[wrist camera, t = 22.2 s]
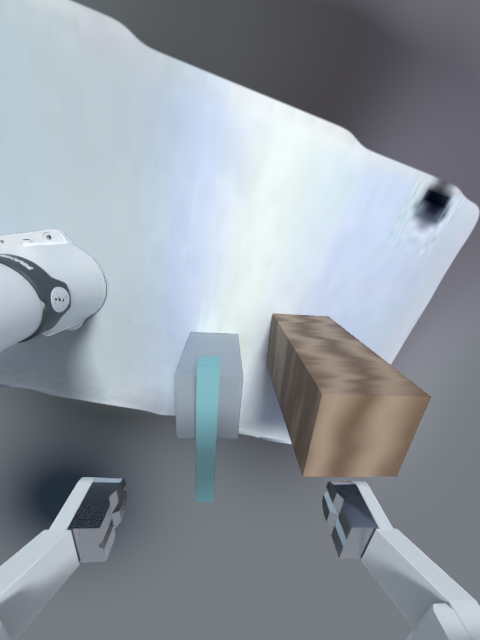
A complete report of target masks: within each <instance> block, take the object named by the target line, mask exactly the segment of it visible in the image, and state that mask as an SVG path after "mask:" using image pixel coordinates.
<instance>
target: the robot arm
mask: <svg viewBox="0 0 480 640" xmlns="http://www.w3.org/2000/svg"><path fill="white" fill-rule="evenodd" d="M49 235H50V236H51V239H50V238H49ZM105 297H106V282H105V278H104V275H103V273H102V271H101V269H100V268H99V266H98V265H97V263H96V262H95V261H94V260H93V259H92V258H91V257H90V256H89V255H88V254H87V253H85V252H84V251H82V250H81V249H79V248H78V247H76V246H75V245H74V244H73V243H72V242H71V240H70V239H69V238H68V237H67V235H66V234H65V233H64V232H63V231H61V230H59V229H51V230H43V231H35V232H27V233H19V234H11V235H3V236H0V352H2V351H4V350H5V349H7V348H9V347H11V346H12V345H14V344H16V343H21V342H25V341H28V340H30V339H34V338H36V337H39V336H41V335H44V336H51V335H53V334H56V333H58V332H60V331H62V330H65V329H67V330H77V329H79V328H80V327H81V326H82V325H83V323H84V321H85V319H87V318H88V317H89V316H91V315H93V314H94V313H96V312H97V311H98V310H99V309H100V308H101V306H102V305H103V303H104V300H105ZM125 485H126V483H125V478H97V477H95V478H94V477H83V478H81V479H80V480H79V482H78V483H77V484H76V486H75V488H74V489H73V491H72V492H71V494H70V496H69V497H68V499H67V501H66V502H65V504H64V506H63V507H62V509H61V510H60V512H59V514H58V515H57V517H56V519H55V520H54V522H53V524H52V525H51V527H50V529H49V530H43V531H42V532H41V533H40V534H39V535H37V536H36V537H35V538H34V539H33V540H31V541H30V542H29V543H28V544H27V545H25V546H24V547H23V548H22V549H21V550H19V551H18V552H17V553H16V554H15V555H14V556H12V557H11V558H10V559H9V560H7V561H6V562H5V563H4V564H3V565H2V566H0V640H16V638H17V637H18V636H19V635H20V634H21V633H22V632H23V630H24V629H25V628H26V627H27V626H28V624H29V623H30V622H31V621H32V620H33V619H34V617H35V616H36V615H37V614H38V613H39V612H40V610H41V609H42V608H43V607H44V606H45V604H46V603H47V602H48V601H49V600H50V599H51V598H52V596H53V595H54V594H55V593H56V592H57V590H58V589H59V588H60V587H61V586H62V585H63V583H64V582H65V581H66V580H67V579H68V578H69V576H70V575H71V574H72V573H73V572H74V570H75V569H76V568H77V567H78V566H79V563H83V562H103V561H106V560H107V558H108V555H109V552H110V549H111V546H112V544H113V542H114V539H115V532H114V529H115V528H116V526H117V525H118V524H119V523H120V522H121V520H122V517H123V514H124V511H125V507H126V502H127V492H126V491H125V490H124V487H125ZM326 488H327V490H328V491H327V492H326V493H325V494H324V495H323V499H322V508H323V513H324V516H325V519H326V522H327V523H328V524H329V525H330V527H331V528H332V534H331V537H332V540H333V542H334V545H335V548H336V551H337V553H338V557H339V558H351V559H361V561H362V562H363V564H364V565H365V566H366V567H367V569H368V570H369V571H370V573H371V574H372V575H373V576H374V578H375V579H376V580H377V581H378V583H379V584H380V585H381V587H382V588H383V589H384V590H385V592H386V593H387V594H388V595H389V597H390V598H391V599H392V601H393V602H394V603H395V605H396V606H397V607H398V608H399V609H400V611H401V612H402V614H403V615H404V616H405V617H406V618H407V620H408V621H409V623H410V624H411V625H412V626H413V628H414V630H413V632H412V633H411V634H410V636H409V637H408V638H407V640H480V606H479V604H478V603H477V601H476V600H475V599H474V598H472V597H471V596H470V595H469V594H468V593H467V592H466V591H465V590H464V589H462V588H461V587H460V586H459V585H458V584H457V583H456V582H455V581H454V580H453V579H452V578H450V577H449V576H448V575H447V574H446V573H445V572H444V571H443V570H442V569H440V568H439V567H438V566H437V565H436V564H435V563H434V562H433V561H432V560H431V559H430V558H428V557H427V556H426V555H425V554H424V553H423V552H422V551H421V550H420V549H418V548H417V547H416V546H415V545H414V544H413V543H412V542H411V541H410V540H409V539H408V538H406V537H405V536H404V535H403V534H402V533H401V532H400V531H399V530H398V529H393V527H392V526H391V524H390V522H389V521H388V519H387V517H386V515H385V514H384V512H383V510H382V508H381V507H380V505H379V503H378V501H377V499H376V498H375V496H374V494H373V493H372V491H371V489H370V487H369V486H368V484H367V483H366V482H363V481H329V482H328V483H327V485H326Z"/></svg>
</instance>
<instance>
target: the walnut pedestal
mask: <svg viewBox="0 0 480 640" xmlns="http://www.w3.org/2000/svg"><path fill="white" fill-rule="evenodd" d="M267 367H268V370H269V373H270V376H271V379H272V383H273V386H274V389H275V392H276V395H277V398H278V401H279V404H280V408H281V411H282V414H283V417H284V420H285V423H286V426H287V429H288V433H289V436H290V439H291V442H292V445H293V448H294V451H295V454H296V458H297V460H298V464H299V467H300V470H301V473H302V476H303V477H351V476H352V477H357V476H358V477H359V476H361V477H362V476H363V477H365V476H397V474H398V472H399V470H400V467H401V465H402V463H403V461H404V458H405V456H406V454H407V451H408V449H409V447H410V444H411V442H412V440H413V437H414V435H415V433H416V431H417V428H418V426H419V423H420V421H421V419H422V417H423V414H424V412H425V410H426V407H427V405H428V403H429V400H430V398H431V396H429V395H428V394H427V393H426V392H424V391H423V390H422V389H421V388H419V387H418V386H417V385H415V384H414V383H413V382H412V381H410V380H409V379H407V378H406V377H405V376H404V375H402V374H401V373H400V372H399V371H397V370H396V369H395V368H394V367H392V366H391V365H390V364H389V363H387V362H386V361H385V360H383V359H382V358H381V357H380V356H378V355H377V354H376V353H374V352H373V351H372V350H371V349H369V348H368V347H367V346H365V345H364V344H363V343H362V342H360V341H359V340H358V339H356V338H355V337H354V336H353V335H351V334H350V333H349V332H347V331H346V330H345V329H344V328H342V327H341V326H340V325H339V324H337V323H336V322H335V321H333V320H332V319H331V318H330V317H327V316H308V315H289V314H273V317H272V325H271V333H270V341H269V348H268V356H267Z"/></svg>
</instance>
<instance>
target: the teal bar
mask: <svg viewBox="0 0 480 640" xmlns="http://www.w3.org/2000/svg"><path fill="white" fill-rule="evenodd" d="M220 357H221V356H199V359H198V363H197V385H196V487H195V489H196V491H195V502H213V499H214V479H215V458H216V439H217V419H218V399H219V379H220Z"/></svg>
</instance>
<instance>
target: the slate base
mask: <svg viewBox="0 0 480 640" xmlns="http://www.w3.org/2000/svg"><path fill="white" fill-rule="evenodd" d="M199 356H221V357H220V379H219V399H218V419H217V439H238V429H239V419H240V408H241V397H242V386H243V371H242V363H241V355H240V347H239V339H238V334H225V333H202V332H190V335H189V338H188V340H187V343H186V346H185V349H184V351H183V354H182V357H181V359H180V362H179V365H178V367H177V370H176V373H175V407H176V438H182V439H196V385H197V363H198V359H199Z"/></svg>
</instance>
